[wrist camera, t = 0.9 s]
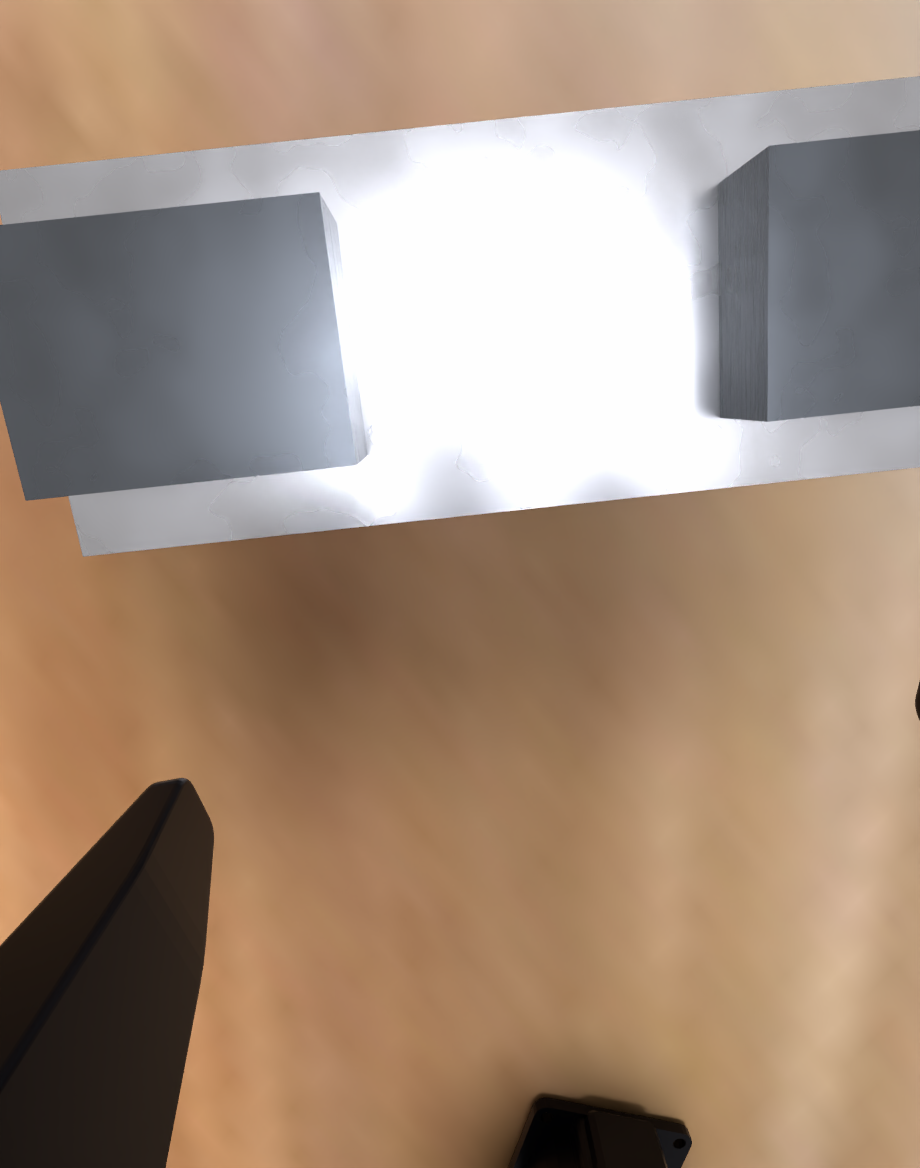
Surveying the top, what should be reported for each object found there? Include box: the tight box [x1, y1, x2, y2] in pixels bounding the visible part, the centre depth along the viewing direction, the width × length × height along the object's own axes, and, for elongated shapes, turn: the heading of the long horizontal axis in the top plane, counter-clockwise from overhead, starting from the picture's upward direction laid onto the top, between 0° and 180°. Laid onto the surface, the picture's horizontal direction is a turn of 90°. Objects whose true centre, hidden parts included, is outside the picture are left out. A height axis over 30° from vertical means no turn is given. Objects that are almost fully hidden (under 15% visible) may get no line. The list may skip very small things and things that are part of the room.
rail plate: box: [0, 76, 920, 557], centre depth 19 cm, size 10×27×4 cm, turn 96°
